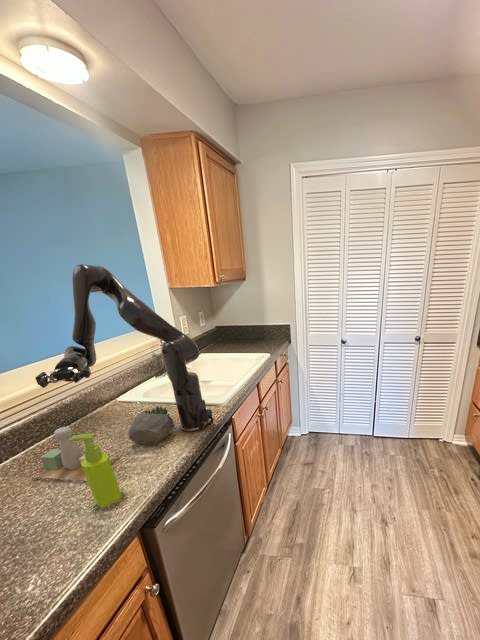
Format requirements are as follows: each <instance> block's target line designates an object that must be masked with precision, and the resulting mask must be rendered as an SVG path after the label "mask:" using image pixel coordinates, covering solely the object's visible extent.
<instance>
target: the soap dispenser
mask: <svg viewBox="0 0 480 640" xmlns="http://www.w3.org/2000/svg"><path fill="white" fill-rule="evenodd" d="M95 436H96V435H95V433H81V434H76V435H72V437H71V438H70V439H69V440H68V441H69V442H71V441H75V442H76V441H83V443H84V447H83V448H82V453H83V454H84V455H85V458H86V459H84V460H83V461H82V463H81V465H82V468H83V470H84V473H85V476H86V478H87V480H86V481H87V484H88V486H89V488H90V492H91V494H92V496H93V499H94V501H95V504H96V506H98V507H103V508H104V507H109V506H111V505H113V504H115V503H117V502H118V501H119V500H120V499H121V498H122V493H121V489H120V486H119V483H118V480H117V477H116V474H115V471H114V469H113V465H112V461H110V459H109V456H110V455H109V454H108V453H105V452H104V453H101V451H102V450H101V448H100V446H99V444H97V443H94V441H93V439H94V438H95Z"/></svg>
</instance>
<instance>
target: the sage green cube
mask: <svg viewBox="0 0 480 640" xmlns="http://www.w3.org/2000/svg"><path fill="white" fill-rule="evenodd" d="M40 460H41V462H42V465H43V466H44V470H45V469H48V470H59V469H61V468H62V467H63V464H62V458H61V451H60V448H52V449H51V450H49V451H47V452H46V453H44V454H43V455H41V456H40Z"/></svg>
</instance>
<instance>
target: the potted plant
mask: <svg viewBox="0 0 480 640" xmlns="http://www.w3.org/2000/svg"><path fill="white" fill-rule="evenodd" d="M168 410H169V409H168V408H167V406H165V407H163V406H159V405H157V406H155V408H154V407H153V408H151V410H150V409H146V410H143V411H142V412H141V413H138V415H136V417H135V418H134V419H133V421H132V423H131V424H130V427H129V429H128V437H129V440H131V441H132V442H134V443H136V444H138V445H141V446H148V445H157V444H159V443H160V442H162V441H163V440H165V439H166V438H167V437H169V435H170V434H171V432H172V431H173V429H174V427H175V424H174V420H173V418H172V417H171V416H170V413H168Z"/></svg>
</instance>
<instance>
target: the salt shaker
mask: <svg viewBox="0 0 480 640" xmlns="http://www.w3.org/2000/svg"><path fill="white" fill-rule="evenodd" d="M53 434H54V438H55V439H57V440H58V443H59V449H60V451H61V458H62V464H63V466H65V467H66V468H67V469H69V470H75V469H78V468H80V467H81V466H82V465H81V463H80V460H79V458H81V457H82V456H83V455H84V453H83V450H81V448H80V447H79V445H78V444H77V443H76V441H71V442H69V441H68V440H69V439H70V438H71V437H73V430H72V429H71V427H69V426H62V427H59V428H57V429H55V430H54V432H53Z"/></svg>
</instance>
